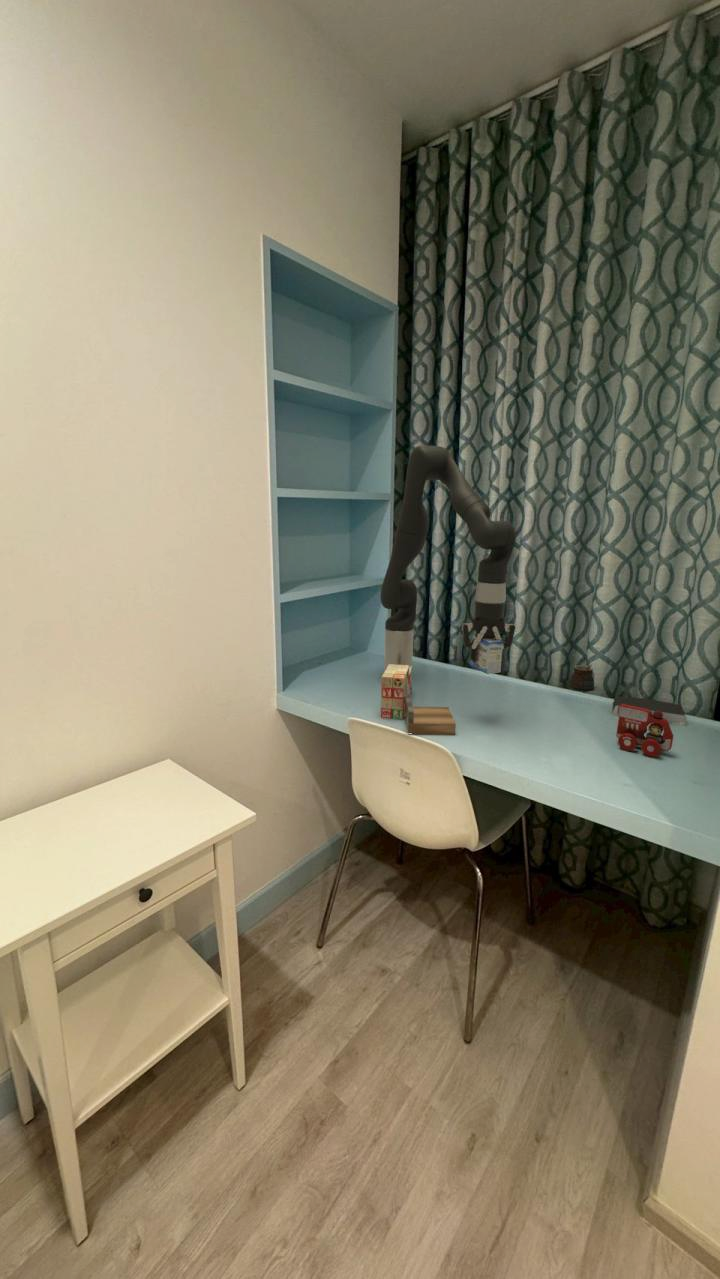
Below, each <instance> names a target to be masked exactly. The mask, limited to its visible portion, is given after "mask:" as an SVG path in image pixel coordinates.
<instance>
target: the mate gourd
mask: <svg viewBox="0 0 720 1279" xmlns="http://www.w3.org/2000/svg"><path fill="white" fill-rule="evenodd" d="M592 666H593V664H590V665H589V666H587V665H575V666H574V668H573V673H572V675H571V676H570V678H569V685H570V687H571V688H572V689H574V690H577V691H581V692H583V691H584V692H588V691H591V690H593V689H594V687H595V679H594V676H593V671H594V669H593V667H592Z"/></svg>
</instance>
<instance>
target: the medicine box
mask: <svg viewBox="0 0 720 1279" xmlns="http://www.w3.org/2000/svg"><path fill="white" fill-rule="evenodd" d="M472 639H473V637H472ZM472 639H471V640H472ZM503 642H504V641H503V640H502V641H500V640H496V639H495V638H482V639H481V641H480V642H479V643H478V645H477V647H476V649H477V654H476V662H472V660H471V659H470V664H469V665H470V666H471V667H472V668H474V669H476V670H478V671H480V672H482V673H484V674H486V675H491V674H492V675H493V674H498V673H501V669H502V661H503V659H502V649H503ZM503 650H504V649H503ZM501 660H502V661H501Z"/></svg>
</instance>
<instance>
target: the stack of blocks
mask: <svg viewBox="0 0 720 1279" xmlns="http://www.w3.org/2000/svg"><path fill="white" fill-rule="evenodd" d="M412 690H413V666H412V667H409V665H394V664H389V665H388V667H387V669H386V670H385V672H383V674H382V676H381V695H380V696H381V701H380V702H381V708H380V718H381V719H393V720H404V719H405V696H408V697H410V698H411V697H412V693H413V692H412Z"/></svg>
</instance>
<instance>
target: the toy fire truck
mask: <svg viewBox="0 0 720 1279" xmlns="http://www.w3.org/2000/svg"><path fill="white" fill-rule="evenodd" d="M617 714H618V716H617V717H618V723H617V728H616V734H615V736H616V738H617V743H618V746H619V747H620V748H621V749H622V750H624V751H627V752H631V751H634V750H635V749H636V747H637V746H638V744H639V745H641V746H640V749H641V751H642V753H643V754H644V755H645V756H647V757H651V758H654V757H657V756H659V755H660V753H661V751H667V752H668V751H670V750H672V747H673V742H674V734H673V732H672V729H671V727H670V726H671V725H670V724H669V723H668V721H667V720H666V719H665V718H662V717H663V713H662V712H661V711H659V710H657V711H655V712H654V713H653V715H652V712H651V711H650V710H649V709H645V708H640V707H635V706H630V705H626V704H620V705H619V707H618V712H617ZM647 731H648V732H647Z"/></svg>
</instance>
